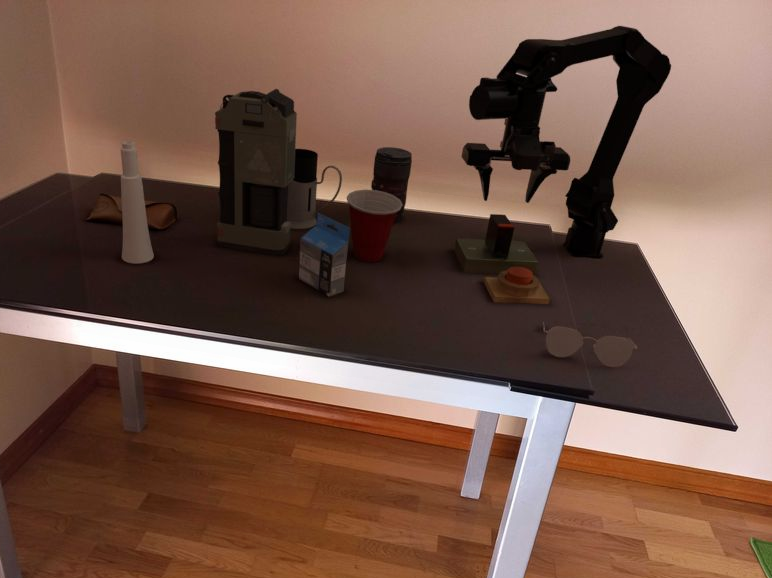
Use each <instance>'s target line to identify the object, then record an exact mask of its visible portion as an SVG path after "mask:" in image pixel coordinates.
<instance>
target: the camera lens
mask: <svg viewBox="0 0 772 578" xmlns="http://www.w3.org/2000/svg"><path fill="white" fill-rule="evenodd" d="M412 156H413V154H412V152H411V151H409V150H406V149H404V148H399V147H393V146H392V147H391V146H385V147H379V148H377V150H376V153H375V155H374V161H373V173H372V175H373V178H372V180H371V184H370V189H371V190H377V191H382V192H386V193H388V194H391V195H393V196H395V197H397V198H398V199H399V200H401V202H402V204H403V205H402V207H401V209H400V211H398V213H397V215H396V217H395V219H394V222H393V223H397V222H399V221H400V220H401V219H402V217H403V213H404V211H405V208H406V204H407V196H408V195H407V194H408V185H409V179H410V177H411V170H412V163H413V161H412Z"/></svg>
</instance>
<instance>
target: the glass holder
mask: <svg viewBox="0 0 772 578" xmlns="http://www.w3.org/2000/svg"><path fill="white" fill-rule="evenodd" d="M318 156H319V154H318V152H316V151H314V150H311V149H306V148H295V170H294V179H293V180H292V181H291V182H290V183H289V184H288V204H287V222H291V228H290V229H293V230H305V229H310V228H311V229H312V228H314V227H315V226H316V221H317V217H316V215H317V213H319V211H321V210H323V209H325V208H326V207H328V206H329V205H331V204H332V203H333V202H335V200H336V198H337V197H338V195H339V193H340V190H341V187H342V182H343V175H342V171H341V170H340V169H339V167H337V166H335V165H328V166H326V167H325V168H323V170H322V173H321V177H320V178H321V179H320V181H318V177H317V176H318V175H317V174H318V158H319V157H318ZM328 169H334V170H335V171H336V172H337V173H338V175H339V183H338V187H337V190H336V192H335V194H334V196H333V197H332V198H331V199H330V201H328V202H327V203H326V204H324V205H322V206H321V207H319V208H318V209H316V208H317V207H316V206H317V191H318V185H321V184H322V183H323V182H324V180H325V174H326V171H327V170H328Z"/></svg>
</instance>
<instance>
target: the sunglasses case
mask: <svg viewBox="0 0 772 578" xmlns="http://www.w3.org/2000/svg"><path fill="white" fill-rule="evenodd" d="M144 201H145V209H146V217H147V224H148V230H160V231H161V230H165V229H167V228H169V227H170V226H172V225H173V224H174V223H175V222H176V221H177V218H178V210H177V207H176V206H175V204H173V203H172V202H167V201H153V200H146V199H144ZM85 220H86V221H95V222H103V223H108V224H114V225H121V226H123V219H122V198H121V196H118V195H112V194H108V193H102V192H101V193H100V194H99V197H98V199H97V200H96V203H95V205H94V207H93V208H92V210H91V212H90V214H89V216H88V217H87V218H85Z"/></svg>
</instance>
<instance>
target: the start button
mask: <svg viewBox="0 0 772 578" xmlns="http://www.w3.org/2000/svg"><path fill="white" fill-rule="evenodd" d="M532 275H533V273H532V272H531V271H530V270H529V269H526V268H523V267H511V268H509V269H508V272H507V277H506V280H507V281H509V282H511V283H514V284H518V285H528V284H530V283H531V279H532ZM533 276H534V275H533Z"/></svg>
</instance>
